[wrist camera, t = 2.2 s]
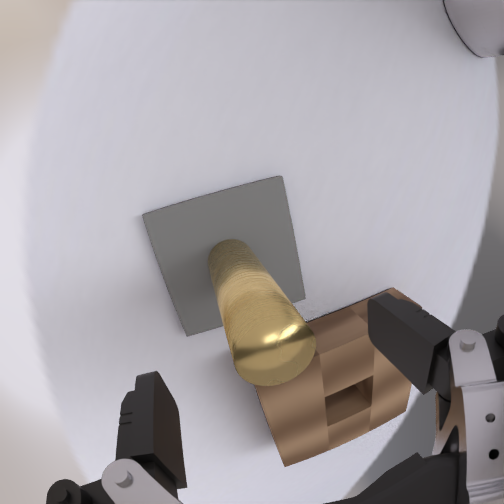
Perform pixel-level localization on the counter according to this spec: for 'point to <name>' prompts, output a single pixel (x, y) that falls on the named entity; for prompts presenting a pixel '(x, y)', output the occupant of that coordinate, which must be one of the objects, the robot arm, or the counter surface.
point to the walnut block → (335, 389)
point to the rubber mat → (214, 231)
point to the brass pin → (258, 317)
